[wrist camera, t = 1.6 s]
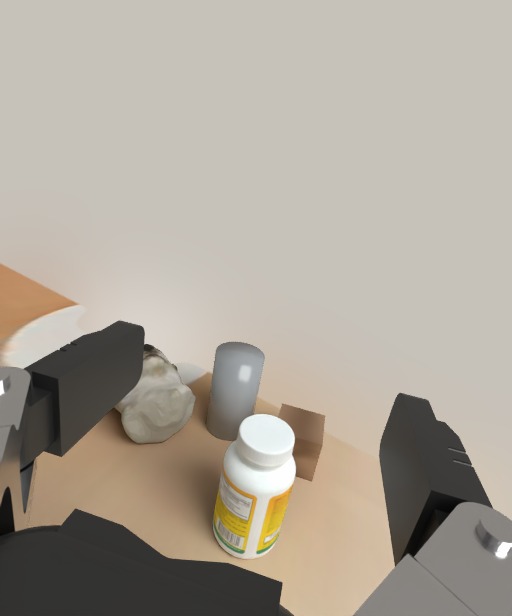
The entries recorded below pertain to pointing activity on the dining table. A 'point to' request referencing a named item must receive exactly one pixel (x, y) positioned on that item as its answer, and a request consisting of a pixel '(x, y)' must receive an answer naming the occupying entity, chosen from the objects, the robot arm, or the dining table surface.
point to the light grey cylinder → (233, 388)
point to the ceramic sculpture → (156, 401)
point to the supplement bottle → (254, 487)
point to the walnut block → (304, 438)
